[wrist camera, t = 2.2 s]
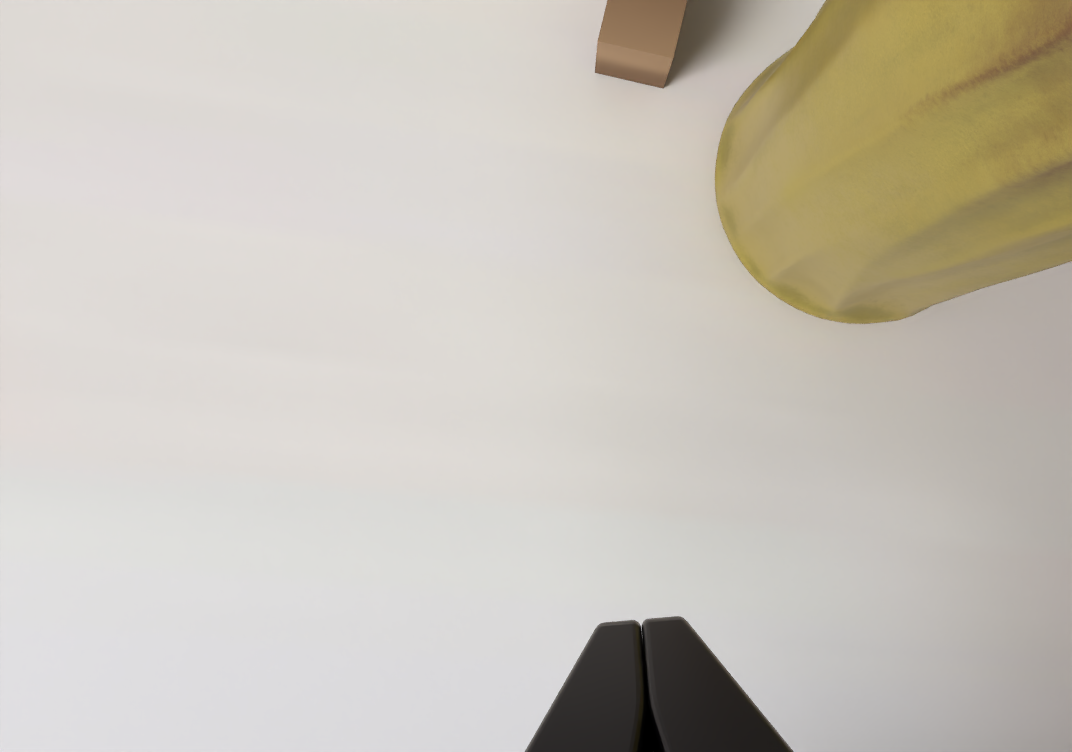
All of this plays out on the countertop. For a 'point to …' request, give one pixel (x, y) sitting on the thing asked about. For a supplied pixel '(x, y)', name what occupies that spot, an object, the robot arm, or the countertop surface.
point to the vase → (904, 156)
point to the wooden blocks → (639, 39)
